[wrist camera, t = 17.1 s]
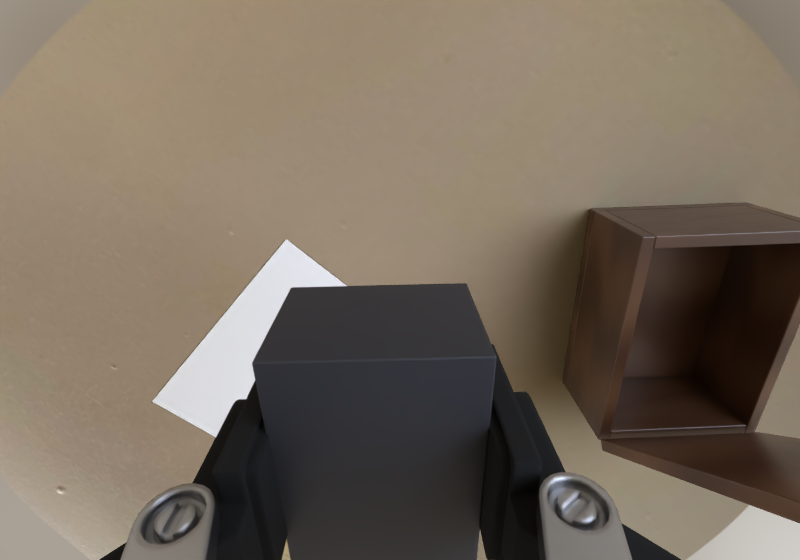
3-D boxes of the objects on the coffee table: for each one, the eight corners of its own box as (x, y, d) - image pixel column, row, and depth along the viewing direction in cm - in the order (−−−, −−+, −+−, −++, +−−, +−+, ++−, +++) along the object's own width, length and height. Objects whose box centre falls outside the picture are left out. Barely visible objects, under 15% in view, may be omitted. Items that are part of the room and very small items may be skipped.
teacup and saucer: (254, 417, 37) (239, 453, 33) (307, 362, 35) (297, 394, 31) (330, 463, 39) (324, 501, 36) (385, 415, 37) (384, 450, 33)
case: (589, 208, 30) (642, 236, 24) (746, 202, 30) (840, 229, 24) (562, 381, 36) (598, 440, 30) (692, 376, 36) (754, 433, 30)
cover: (835, 513, 14) (879, 685, 13) (1175, 497, 14) (1248, 666, 13) (600, 438, 30) (610, 511, 28) (758, 432, 30) (774, 504, 29)
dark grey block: (315, 471, 13) (294, 582, 10) (290, 286, 10) (250, 362, 7) (455, 467, 13) (475, 576, 10) (466, 282, 10) (497, 356, 7)
